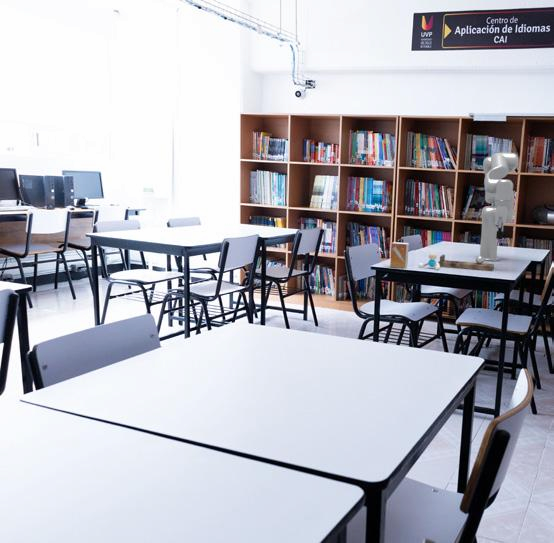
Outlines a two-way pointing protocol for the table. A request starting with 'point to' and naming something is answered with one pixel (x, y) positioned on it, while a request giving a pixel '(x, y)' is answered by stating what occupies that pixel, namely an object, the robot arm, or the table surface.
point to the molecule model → (431, 262)
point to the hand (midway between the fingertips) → (499, 238)
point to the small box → (399, 255)
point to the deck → (465, 265)
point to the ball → (479, 260)
